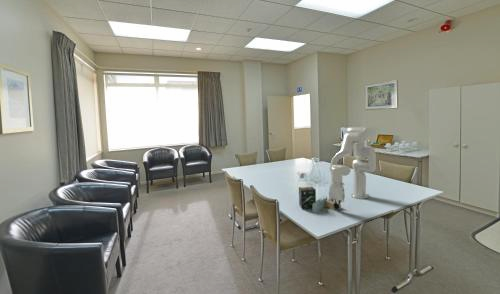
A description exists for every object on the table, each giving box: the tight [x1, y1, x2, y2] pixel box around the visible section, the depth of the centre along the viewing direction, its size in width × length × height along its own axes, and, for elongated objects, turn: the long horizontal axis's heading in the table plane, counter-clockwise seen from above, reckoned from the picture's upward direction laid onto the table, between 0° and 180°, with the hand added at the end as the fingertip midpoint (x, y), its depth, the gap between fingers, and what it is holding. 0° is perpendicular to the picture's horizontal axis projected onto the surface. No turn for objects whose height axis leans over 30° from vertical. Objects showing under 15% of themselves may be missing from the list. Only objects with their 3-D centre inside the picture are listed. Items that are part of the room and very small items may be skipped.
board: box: [312, 195, 328, 214], centre depth 181 cm, size 20×3×6 cm, turn 141°
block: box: [324, 198, 342, 211], centre depth 181 cm, size 7×9×5 cm
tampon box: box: [298, 186, 317, 210], centre depth 184 cm, size 11×9×15 cm
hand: (336, 208), depth 174 cm, fingers closed
